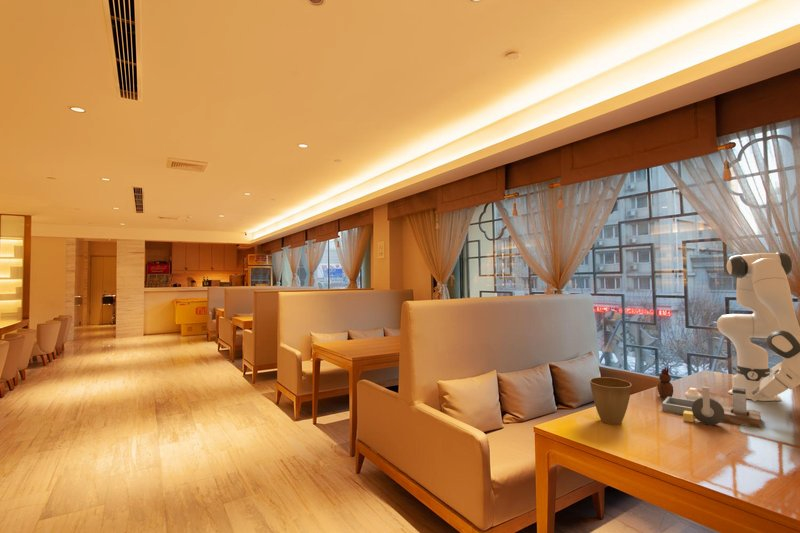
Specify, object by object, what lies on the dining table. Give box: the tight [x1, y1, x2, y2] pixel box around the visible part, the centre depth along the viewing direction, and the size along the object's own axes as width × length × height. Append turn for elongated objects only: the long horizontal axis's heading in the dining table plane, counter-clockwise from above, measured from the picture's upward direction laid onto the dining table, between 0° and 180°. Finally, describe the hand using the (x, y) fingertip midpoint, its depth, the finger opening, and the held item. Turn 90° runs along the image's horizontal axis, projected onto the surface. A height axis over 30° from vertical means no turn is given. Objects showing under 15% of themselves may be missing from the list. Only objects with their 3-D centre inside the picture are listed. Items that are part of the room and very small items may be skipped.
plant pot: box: [589, 376, 632, 426], centre depth 162 cm, size 15×15×16 cm
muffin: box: [684, 387, 702, 401], centre depth 184 cm, size 6×6×7 cm
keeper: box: [721, 405, 762, 428], centre depth 162 cm, size 12×12×3 cm
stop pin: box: [731, 386, 748, 415], centre depth 162 cm, size 4×4×12 cm
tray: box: [661, 396, 695, 415], centre depth 175 cm, size 13×13×3 cm
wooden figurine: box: [657, 366, 674, 399], centre depth 193 cm, size 7×6×15 cm
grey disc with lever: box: [682, 386, 724, 426], centre depth 159 cm, size 7×13×15 cm, turn 47°
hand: (752, 396), depth 159 cm, fingers open, 8 cm apart
